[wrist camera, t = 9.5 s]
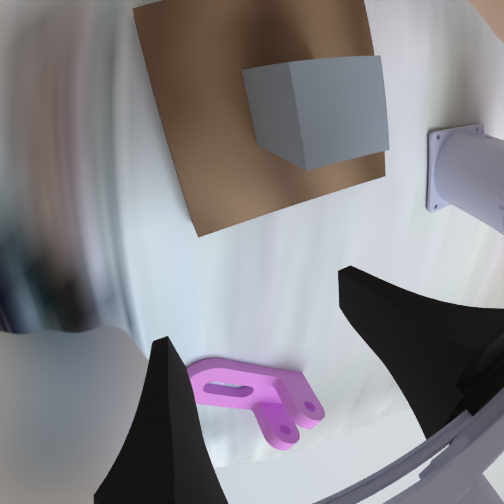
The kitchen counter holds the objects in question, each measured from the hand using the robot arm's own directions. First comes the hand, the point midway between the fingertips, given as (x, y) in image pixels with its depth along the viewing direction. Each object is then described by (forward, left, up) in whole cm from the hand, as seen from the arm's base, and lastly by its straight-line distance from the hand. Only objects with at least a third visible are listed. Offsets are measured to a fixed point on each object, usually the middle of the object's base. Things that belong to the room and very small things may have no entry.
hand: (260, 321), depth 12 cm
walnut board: (-6, -7, -10) cm, 14 cm away
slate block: (-6, -7, -8) cm, 12 cm away
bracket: (+2, +18, -11) cm, 21 cm away
